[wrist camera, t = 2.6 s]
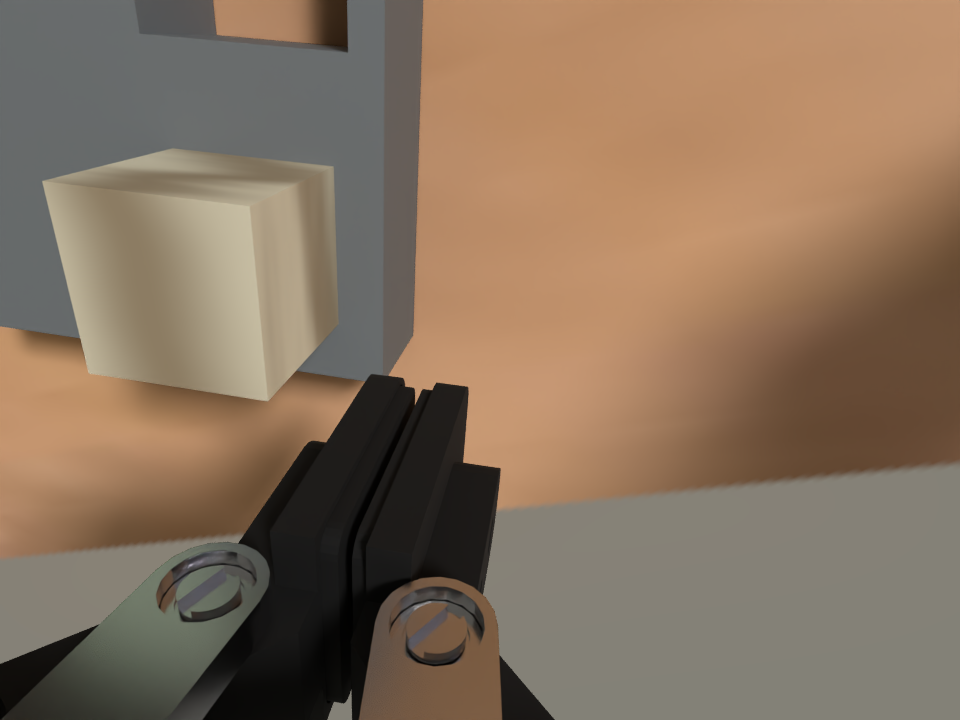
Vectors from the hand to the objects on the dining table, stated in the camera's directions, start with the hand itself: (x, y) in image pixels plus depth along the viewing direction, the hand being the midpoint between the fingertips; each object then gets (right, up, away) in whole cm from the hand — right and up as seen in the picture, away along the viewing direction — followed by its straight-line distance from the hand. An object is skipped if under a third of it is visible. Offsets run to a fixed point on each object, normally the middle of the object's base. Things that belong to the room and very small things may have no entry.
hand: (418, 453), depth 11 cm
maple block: (-6, +5, +9) cm, 12 cm away
